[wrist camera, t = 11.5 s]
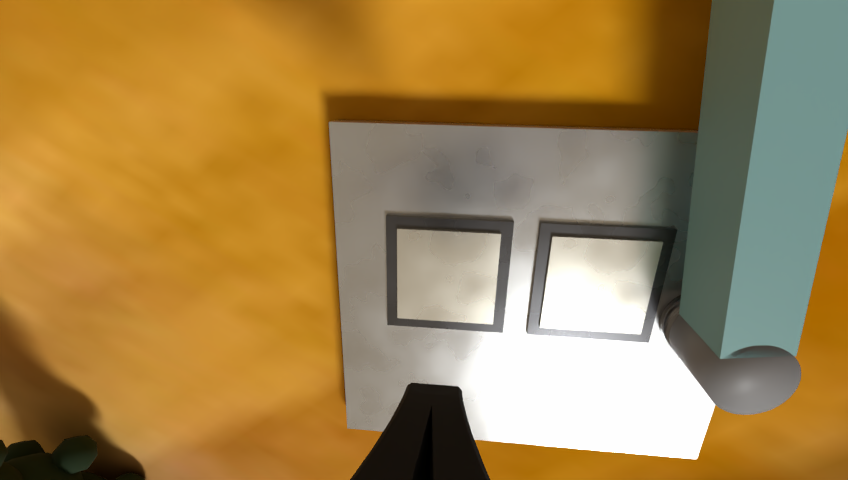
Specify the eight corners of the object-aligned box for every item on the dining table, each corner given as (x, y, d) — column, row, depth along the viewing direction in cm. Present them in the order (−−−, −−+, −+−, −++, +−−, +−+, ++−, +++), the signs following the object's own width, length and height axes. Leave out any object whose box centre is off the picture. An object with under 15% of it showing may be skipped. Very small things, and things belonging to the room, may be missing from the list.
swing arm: (741, 361, 18) (792, 413, 15) (666, 364, 18) (702, 415, 15) (832, -165, 12) (947, -242, 9) (716, -144, 12) (791, -210, 9)
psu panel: (787, 132, 16) (824, 138, 15) (686, 443, 22) (704, 473, 20) (335, 119, 18) (322, 123, 16) (352, 414, 24) (343, 440, 22)
